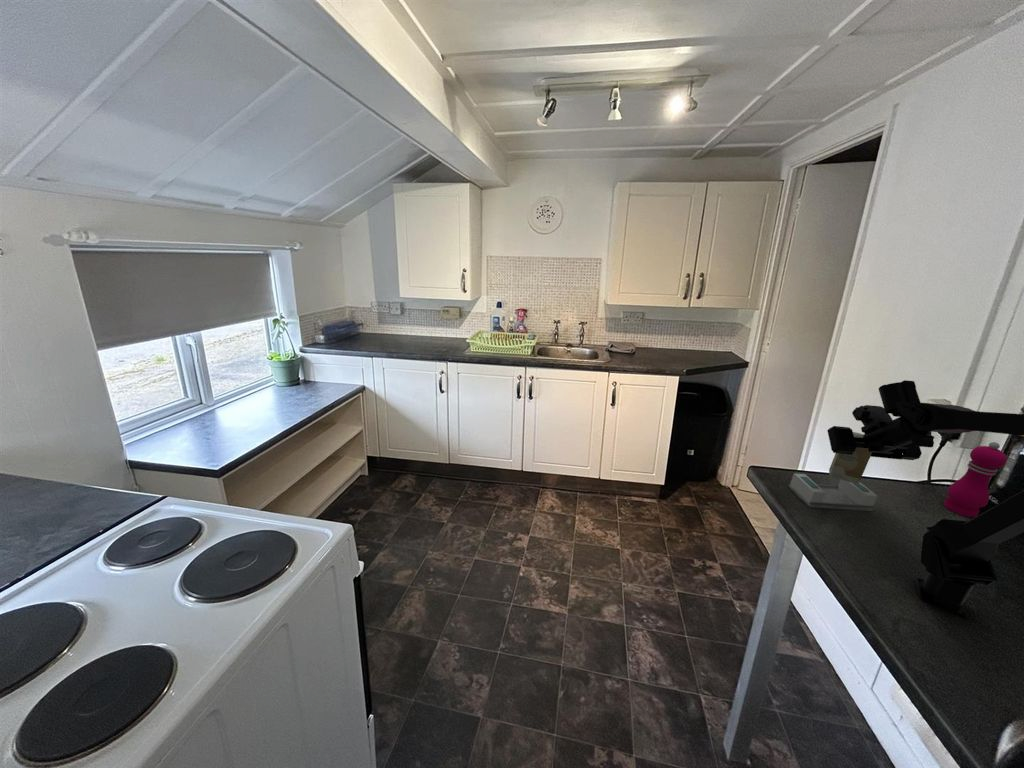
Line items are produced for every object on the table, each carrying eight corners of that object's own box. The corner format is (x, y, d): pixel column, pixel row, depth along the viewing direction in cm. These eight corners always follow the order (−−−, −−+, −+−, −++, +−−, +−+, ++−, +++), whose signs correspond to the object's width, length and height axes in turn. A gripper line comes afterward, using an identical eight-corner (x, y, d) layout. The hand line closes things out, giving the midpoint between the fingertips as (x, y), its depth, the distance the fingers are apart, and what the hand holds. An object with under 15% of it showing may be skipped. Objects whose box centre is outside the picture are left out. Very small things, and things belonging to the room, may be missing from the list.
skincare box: (829, 476, 107) (844, 434, 103) (828, 469, 111) (843, 428, 106) (860, 485, 104) (877, 442, 100) (858, 478, 107) (874, 436, 103)
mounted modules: (848, 488, 113) (853, 476, 112) (872, 507, 105) (878, 495, 104) (789, 484, 113) (794, 472, 112) (809, 503, 105) (814, 491, 104)
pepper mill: (962, 502, 111) (997, 437, 104) (988, 520, 104) (1027, 451, 97) (933, 499, 111) (966, 434, 104) (957, 517, 105) (994, 448, 98)
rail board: (846, 490, 114) (848, 485, 113) (872, 511, 105) (874, 506, 105) (788, 486, 114) (789, 482, 113) (809, 507, 105) (811, 502, 105)
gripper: (931, 404, 95) (879, 426, 109) (845, 396, 96) (805, 419, 110) (947, 450, 90) (890, 468, 104) (856, 442, 92) (813, 460, 106)
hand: (848, 452), depth 106 cm, fingers closed on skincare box, 7 cm apart
